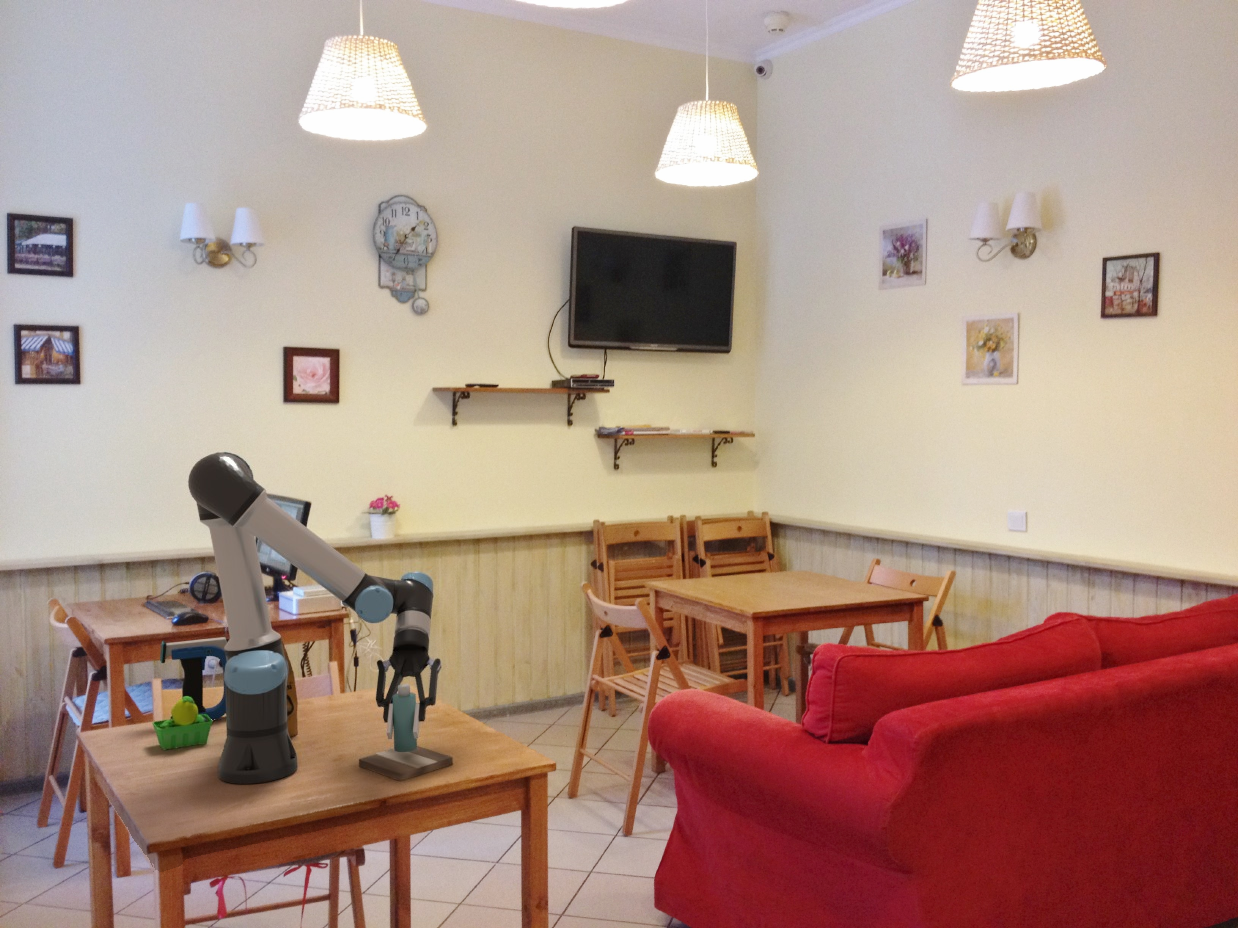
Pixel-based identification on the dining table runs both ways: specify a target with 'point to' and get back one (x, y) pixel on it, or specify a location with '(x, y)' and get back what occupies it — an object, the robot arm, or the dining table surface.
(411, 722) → the teal bottle with cap
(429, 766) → the brown cream striped panel
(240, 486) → the robot arm
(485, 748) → the dining table surface
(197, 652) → the handheld scanner
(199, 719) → the fruit basket
